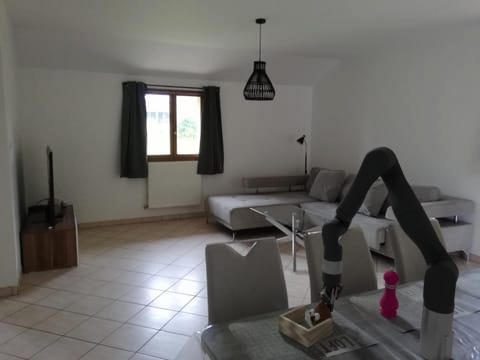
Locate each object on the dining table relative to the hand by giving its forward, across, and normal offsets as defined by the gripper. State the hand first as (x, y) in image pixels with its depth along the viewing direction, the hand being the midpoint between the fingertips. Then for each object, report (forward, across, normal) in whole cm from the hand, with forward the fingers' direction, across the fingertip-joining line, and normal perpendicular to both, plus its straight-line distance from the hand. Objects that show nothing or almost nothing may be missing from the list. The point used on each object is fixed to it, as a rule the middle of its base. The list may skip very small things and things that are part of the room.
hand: (329, 311), depth 156 cm
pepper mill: (+3, +22, -13) cm, 25 cm away
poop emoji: (+3, -5, 0) cm, 6 cm away
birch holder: (+3, -15, 0) cm, 15 cm away
